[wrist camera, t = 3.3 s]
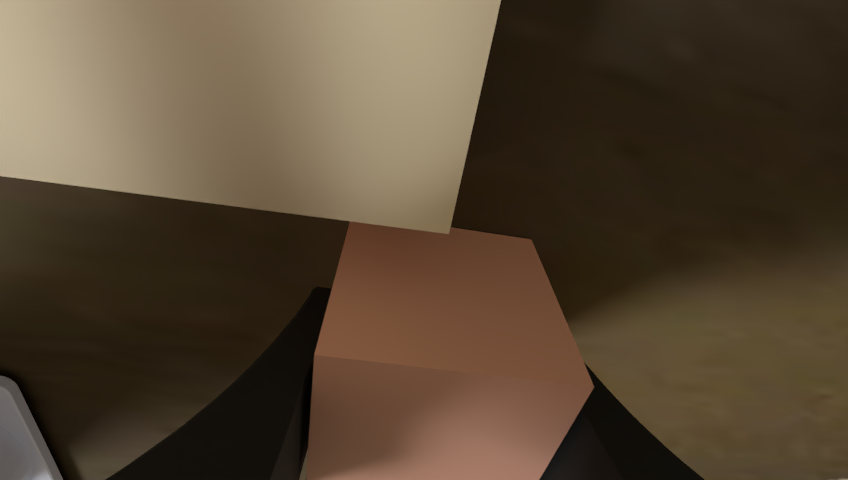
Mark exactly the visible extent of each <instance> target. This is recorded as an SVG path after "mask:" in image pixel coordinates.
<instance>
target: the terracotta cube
mask: <svg viewBox="0 0 848 480" xmlns="http://www.w3.org/2000/svg"><path fill="white" fill-rule="evenodd" d="M593 388H594V385H593V383H592V380H591V378H590V376H589V373H588V371H587V369H586V366H585V364H584V362H583V359H582V357H581V355H580V352H579V350H578V347H577V345H576V343H575V340H574V338H573V336H572V333H571V331H570V329H569V326H568V324H567V322H566V319H565V317H564V315H563V312H562V310H561V308H560V305H559V303H558V301H557V298H556V296H555V294H554V291H553V289H552V286H551V284H550V282H549V279H548V277H547V275H546V272H545V270H544V268H543V265H542V263H541V261H540V258H539V256H538V254H537V251H536V249H535V247H534V244H533V242H532V240H531V239H525V238H519V237H512V236H506V235H499V234H492V233H486V232H479V231H472V230H466V229H459V228H453V227H450V232H449V234H444V233H436V232H428V231H421V230H413V229H405V228H398V227H390V226H382V225H374V224H367V223H359V222H351V221H350V223H349V226H348V230H347V234H346V238H345V241H344V245H343V249H342V253H341V256H340V260H339V264H338V268H337V271H336V275H335V279H334V282H333V286H332V290H331V294H330V297H329V301H328V305H327V309H326V312H325V316H324V320H323V324H322V327H321V331H320V335H319V339H318V342H317V346H316V350H315V354H314V365H313V380H312V396H311V411H310V427H309V442H308V458H307V473H306V480H539V479H540V478H541V476H542V474H543V473H544V471H545V469H546V467H547V466H548V464H549V462H550V461H551V459H552V457H553V456H554V454H555V452H556V451H557V449H558V447H559V446H560V444H561V442H562V440H563V439H564V437H565V435H566V434H567V432H568V430H569V429H570V427H571V425H572V424H573V422H574V420H575V419H576V417H577V415H578V414H579V412H580V410H581V408H582V407H583V405H584V403H585V402H586V400H587V398H588V397H589V395H590V393H591V392H592V390H593Z"/></svg>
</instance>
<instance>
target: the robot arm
mask: <svg viewBox="0 0 848 480" xmlns="http://www.w3.org/2000/svg"><path fill="white" fill-rule="evenodd" d="M331 290H332V289H329V288H322V287H317V288H315V289H313V291H312V292H311V294H310V296H309V297H308V299H307V300H306V302H305V303H304V304H303V306H302V307H301V309H300V310H299V311H298V313H297V314H296V315H295V316H294V318H293V319H292V320H291V322H290V323H289V324H288V325H287V326H286V328H285V329H284V330H283V331H282V332H281V334H280V335H279V336H278V337H277V338H276V339H275V341H274V342H273V343H272V344H271V345H270V346H269V347H268V348H267V349H266V350H265V351H264V352H263V354H262V355H261V356H260V357H259V358H258V359H257V360H256V361H255V362H254V363H253V364H252V365H251V366H250V367H249V368H248V369H247V370H246V371H245V372H244V373H243V374H242V375H241V376H240V377H239V378H238V379H237V380H236V381H235V382H234V383H232V384H231V385H230V386H229V387H228V388H227V389H226V390H225V391H224V392H222V393H221V394H220V395H219V396H218V397H217V398H216V399H215V400H213V401H212V402H211V403H210V404H209V405H207V406H206V407H205V408H204V409H202V410H201V411H200V412H199V413H198V414H196V415H195V416H194V417H193V418H192V419H190V420H189V421H188V422H186V423H185V424H184V425H183V426H181V427H180V428H179V429H177V430H176V431H175V432H173V433H172V434H171V435H169V436H168V437H167V438H165V439H164V440H162V441H161V442H160V443H158V444H157V445H155V446H154V447H153V448H151V449H150V450H148V451H147V452H146V453H144V454H143V455H141V456H140V457H139V458H137V459H136V460H134V461H133V462H131V463H130V464H129V465H127V466H126V467H124V468H123V469H121V470H120V471H118V472H117V473H115V474H114V475H112V476H110V477H109V478H107V479H106V480H299V478H300V474H301V470H302V466H303V462H304V459H305V456H306V452H307V449H308V442H309V427H310V411H311V396H312V380H313V365H314V354H315V350H316V346H317V342H318V339H319V335H320V331H321V327H322V324H323V320H324V316H325V312H326V309H327V305H328V301H329V297H330V294H331ZM583 362H584V361H583ZM584 364H585V363H584ZM585 366H586V369H587V371H588V373H589V376H590V378H591V380H592V383H593V385H594V388H593V390H592V392H591V393H590V395H589V397H588V398H587V400H586V402H585V403H584V405H583V407H582V408H581V410H580V412H579V414H578V415H577V417H576V419H575V420H574V422H573V424H572V425H571V427H570V429H569V430H568V432H567V434H566V435H565V437H564V439H563V440H562V442H561V444H560V446H559V447H558V449H557V451H556V452H555V454H554V456H553V457H552V459H551V461H550V462H549V464H548V466H547V467H546V469H545V471H544V473H543V474H542V476H541V478H540V479H539V480H704V479H703V478H702V477H701V476H699V475H698V474H697V473H696V472H694V471H693V470H692V469H691V468H690V467H688V466H687V465H686V464H685V463H684V462H682V461H681V460H680V459H679V458H678V457H677V456H675V455H674V454H673V453H672V452H671V451H670V450H669V449H667V448H666V447H665V446H664V445H663V444H662V443H661V442H660V441H659V440H658V439H657V438H656V437H655V436H653V435H652V434H651V433H650V432H649V431H648V430H647V429H646V428H645V427H644V426H643V425H642V424H641V423H640V422H639V421H638V420H637V419H636V418H635V417H634V416H633V415H632V414H631V413H630V412H629V411H628V410H627V409H626V408H625V407H624V406H623V405H622V404H621V403H620V402H619V401H618V400H617V399H616V398H615V397H614V395H613V394H612V393H611V392H610V391H609V390H608V389H607V388H606V387H605V386H604V385H603V383H602V382H601V381H600V380H599V379H598V378H597V377H596V375H595V374H594V373H593V372H592V371H591V370H590V368H589V367H588V366H587V365H586V364H585ZM0 480H63V478H62V476H61V474H60V472H59V470H58V467H57V465H56V463H55V461H54V459H53V457H52V455H51V453H50V451H49V449H48V447H47V445H46V443H45V441H44V439H43V437H42V435H41V432H40V430H39V428H38V426H37V424H36V422H35V420H34V418H33V416H32V414H31V412H30V410H29V408H28V406H27V404H26V402H25V400H24V397H23V395H22V393H21V391H20V389H19V387H18V385H17V384H16V383H15V382H14V381H13V380H11V379H10V378H7V377H5V376H0Z"/></svg>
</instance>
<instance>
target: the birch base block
mask: <svg viewBox="0 0 848 480" xmlns="http://www.w3.org/2000/svg"><path fill="white" fill-rule="evenodd" d="M500 3H501V0H0V176H4V177H12V178H20V179H27V180H35V181H43V182H50V183H58V184H66V185H74V186H81V187H89V188H97V189H104V190H112V191H120V192H128V193H135V194H143V195H151V196H158V197H166V198H174V199H182V200H189V201H197V202H205V203H212V204H220V205H228V206H236V207H243V208H251V209H259V210H266V211H274V212H282V213H290V214H297V215H305V216H313V217H320V218H328V219H336V220H344V221H351V222H359V223H367V224H374V225H382V226H390V227H398V228H405V229H413V230H421V231H428V232H436V233H444V234H449V232H450V227H451V223H452V218H453V214H454V209H455V205H456V200H457V196H458V191H459V187H460V182H461V178H462V173H463V169H464V164H465V160H466V155H467V151H468V146H469V142H470V137H471V133H472V128H473V124H474V119H475V115H476V110H477V106H478V102H479V97H480V93H481V88H482V84H483V79H484V75H485V70H486V66H487V61H488V57H489V52H490V48H491V43H492V39H493V34H494V30H495V25H496V21H497V16H498V12H499V7H500Z"/></svg>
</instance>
